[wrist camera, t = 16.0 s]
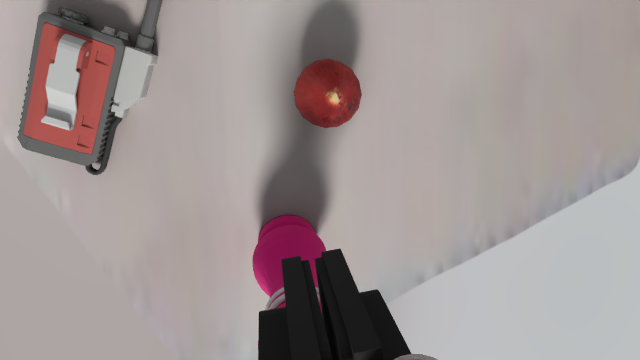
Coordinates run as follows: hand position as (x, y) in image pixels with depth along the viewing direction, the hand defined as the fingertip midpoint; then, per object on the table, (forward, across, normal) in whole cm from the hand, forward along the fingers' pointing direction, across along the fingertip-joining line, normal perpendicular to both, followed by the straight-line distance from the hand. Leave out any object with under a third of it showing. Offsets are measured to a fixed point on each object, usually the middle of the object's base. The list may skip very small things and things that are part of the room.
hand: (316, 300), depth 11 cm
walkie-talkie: (+29, +14, -8) cm, 33 cm away
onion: (+29, -5, -3) cm, 29 cm away
